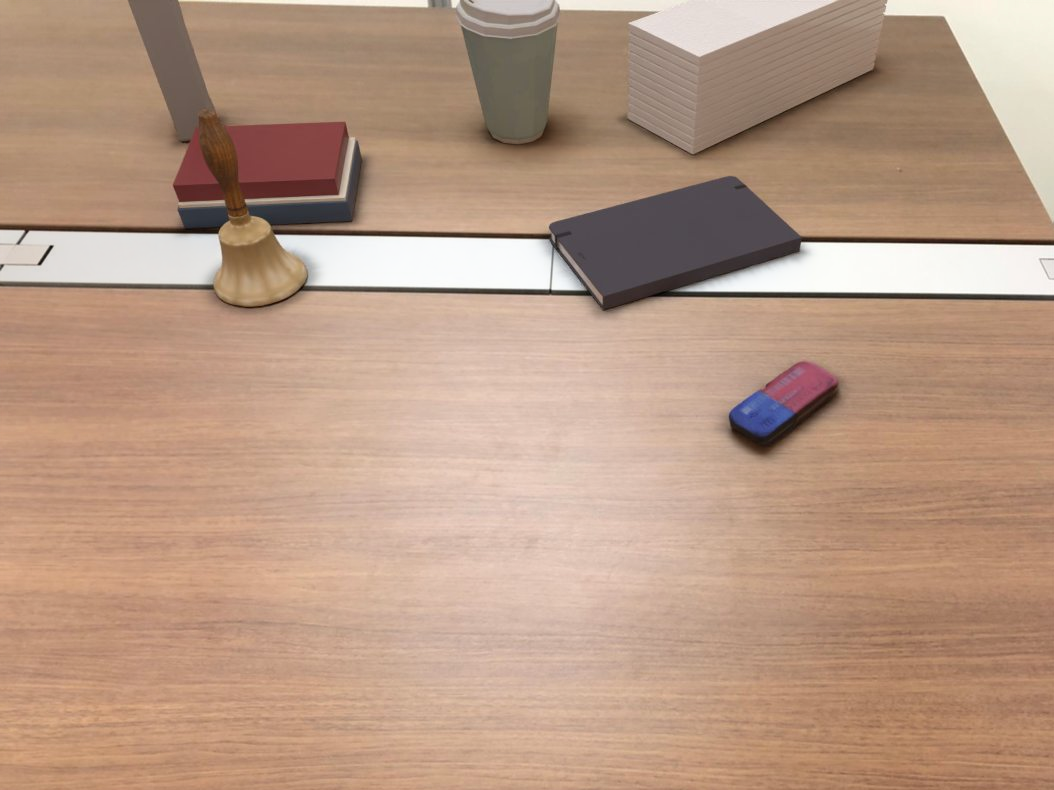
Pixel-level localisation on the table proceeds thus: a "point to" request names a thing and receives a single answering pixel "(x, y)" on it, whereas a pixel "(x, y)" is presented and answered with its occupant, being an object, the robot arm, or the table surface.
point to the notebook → (671, 240)
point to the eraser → (783, 403)
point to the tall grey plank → (173, 62)
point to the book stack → (276, 175)
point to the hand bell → (245, 232)
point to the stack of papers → (742, 62)
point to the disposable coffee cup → (511, 62)
